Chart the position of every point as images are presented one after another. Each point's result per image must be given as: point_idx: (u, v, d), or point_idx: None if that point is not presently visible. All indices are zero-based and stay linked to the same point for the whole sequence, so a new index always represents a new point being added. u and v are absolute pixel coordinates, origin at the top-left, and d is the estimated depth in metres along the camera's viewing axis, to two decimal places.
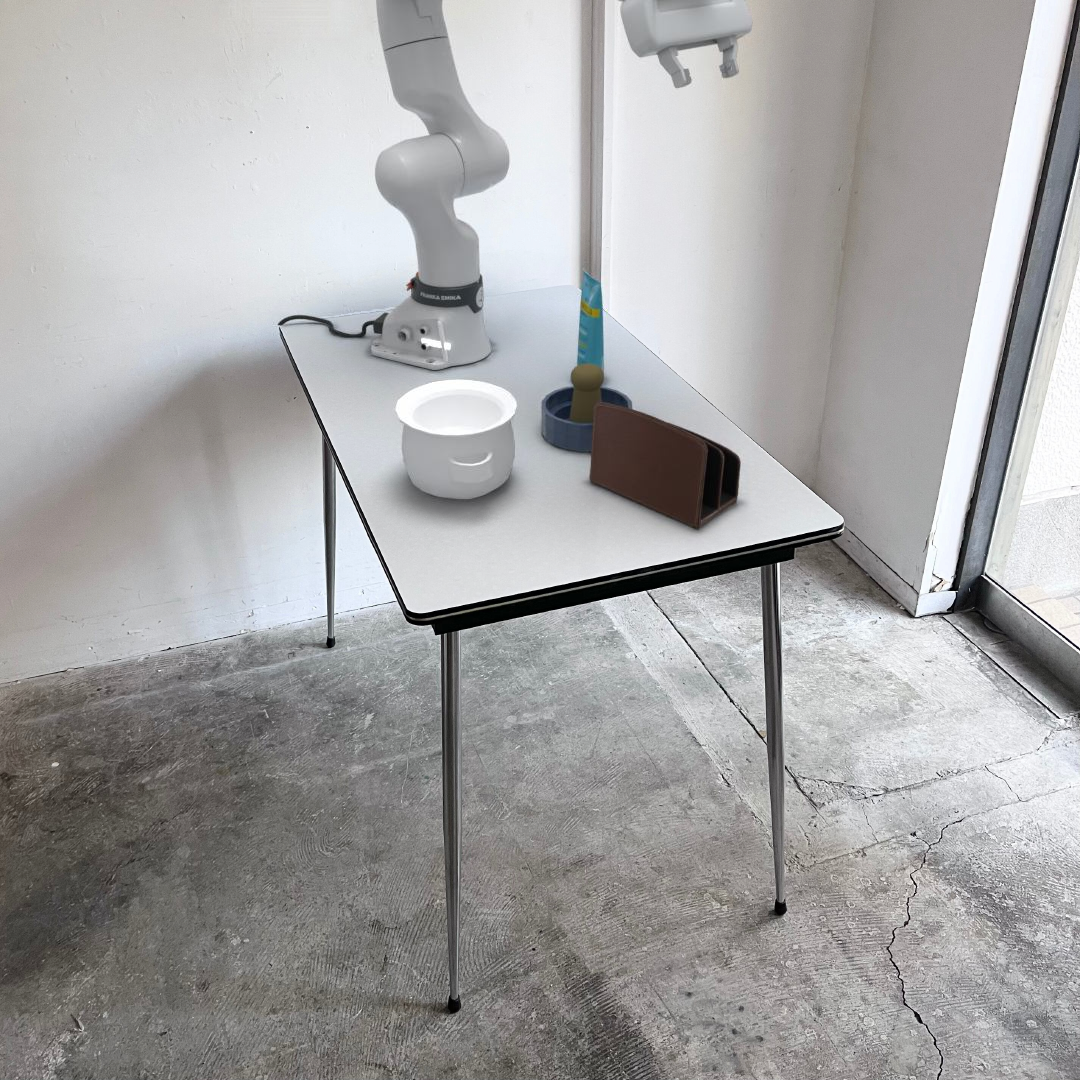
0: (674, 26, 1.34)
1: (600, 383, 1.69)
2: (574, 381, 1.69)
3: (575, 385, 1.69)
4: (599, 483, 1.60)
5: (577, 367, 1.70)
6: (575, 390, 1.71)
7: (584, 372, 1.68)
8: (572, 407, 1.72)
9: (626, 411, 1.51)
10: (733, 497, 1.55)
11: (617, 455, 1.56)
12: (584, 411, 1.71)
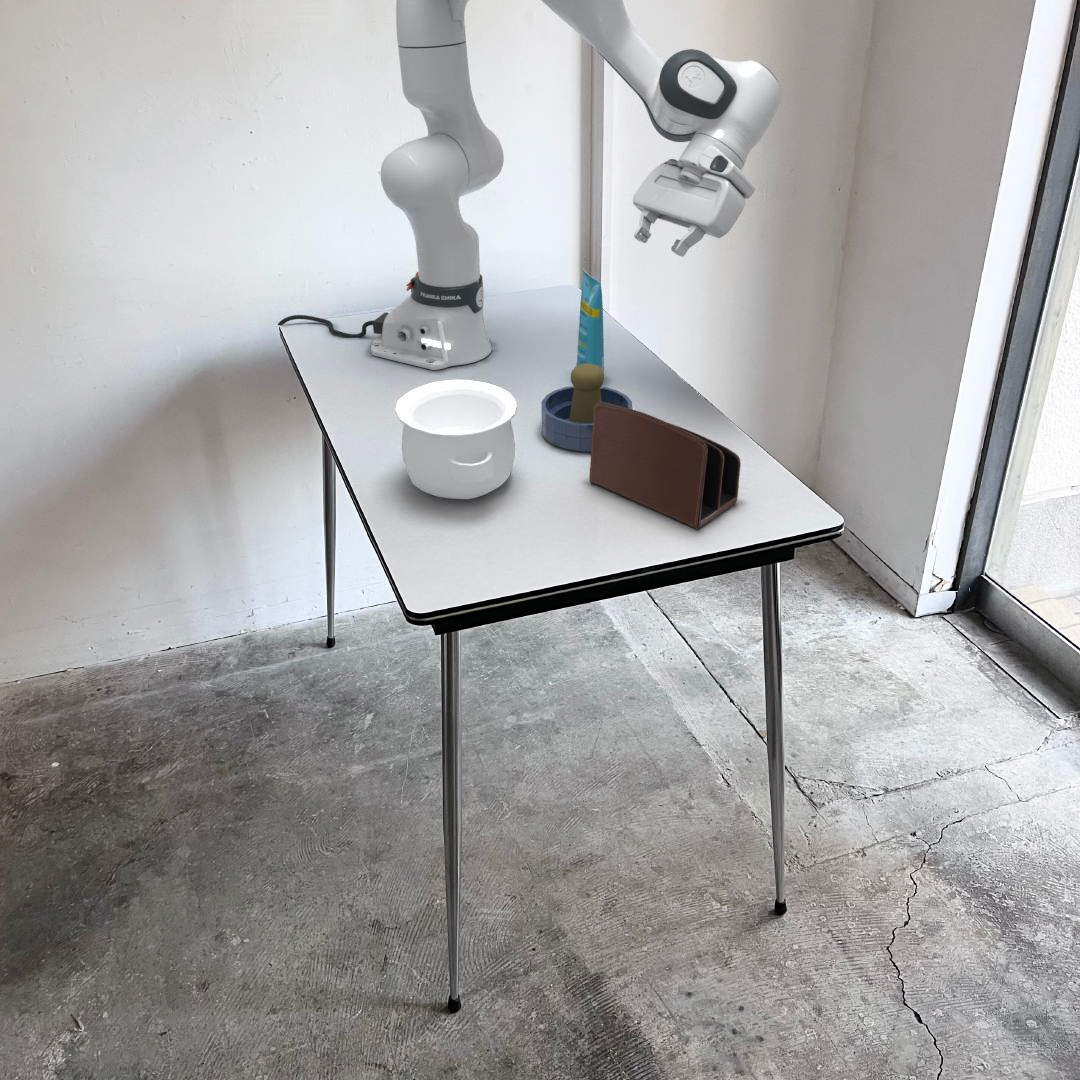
0: None
1: (600, 383, 1.69)
2: (574, 381, 1.69)
3: (575, 385, 1.69)
4: (599, 483, 1.60)
5: (577, 367, 1.70)
6: (575, 390, 1.71)
7: (584, 372, 1.68)
8: (572, 407, 1.72)
9: (626, 411, 1.51)
10: (733, 497, 1.55)
11: (617, 455, 1.56)
12: (584, 411, 1.71)
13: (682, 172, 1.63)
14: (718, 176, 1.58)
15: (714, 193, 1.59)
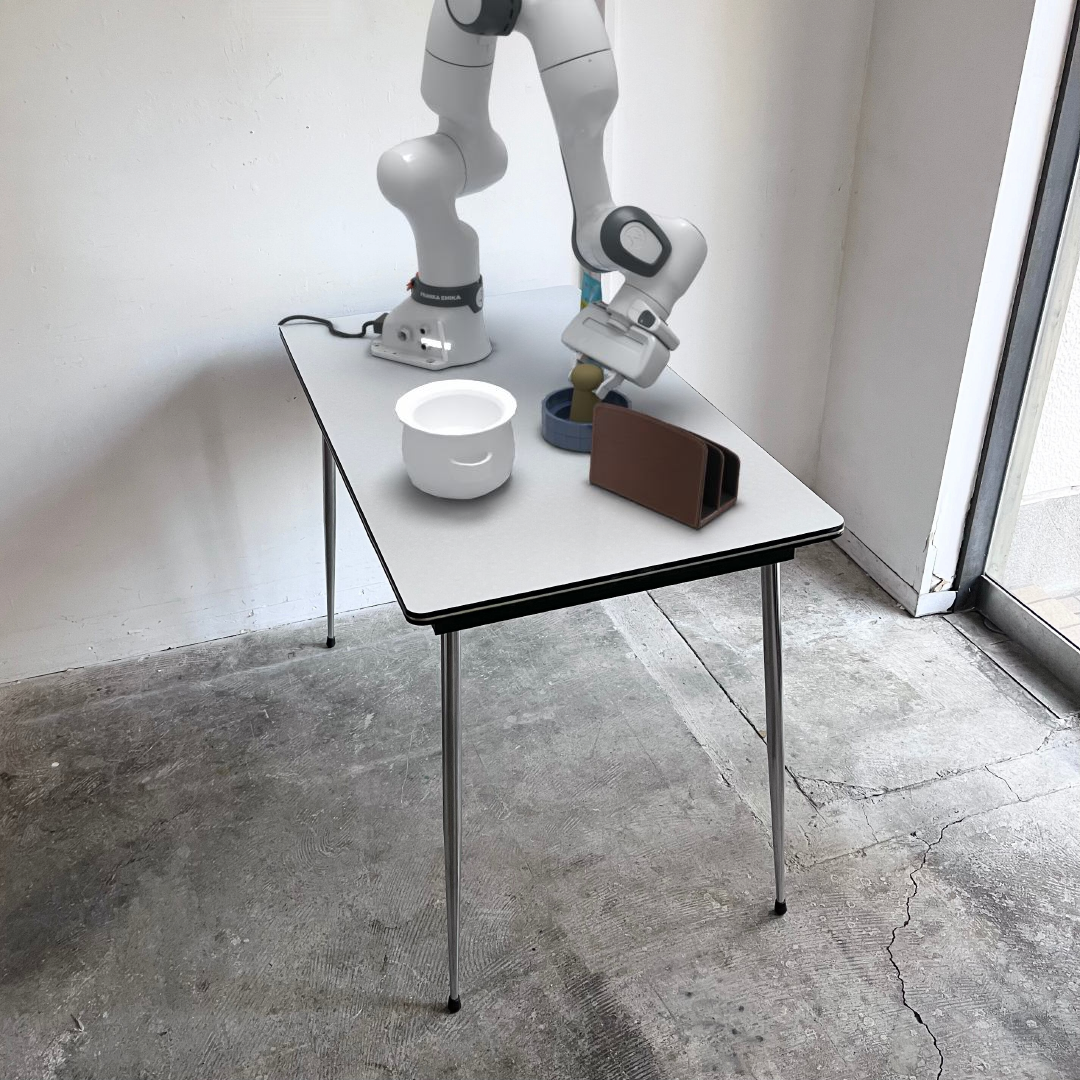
0: None
1: (600, 383, 1.69)
2: (574, 381, 1.69)
3: (575, 385, 1.69)
4: (599, 483, 1.60)
5: (577, 367, 1.70)
6: (575, 390, 1.71)
7: (584, 372, 1.68)
8: (572, 407, 1.72)
9: (626, 412, 1.51)
10: (732, 497, 1.55)
11: (617, 455, 1.56)
12: (584, 411, 1.71)
13: (610, 320, 1.69)
14: (645, 330, 1.64)
15: (641, 345, 1.65)
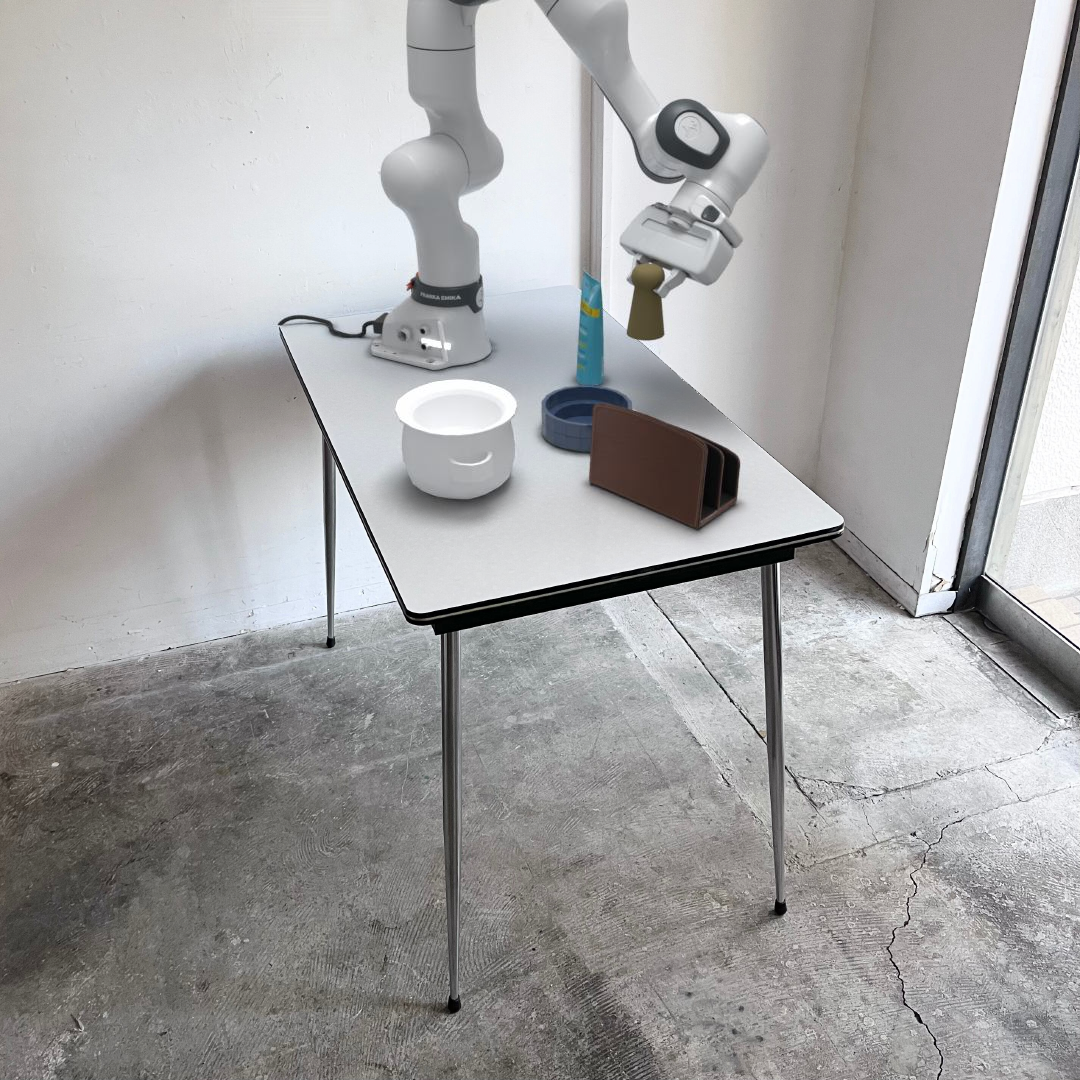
0: None
1: None
2: (635, 280, 1.67)
3: (636, 284, 1.67)
4: (598, 484, 1.60)
5: (638, 266, 1.67)
6: (635, 290, 1.68)
7: (646, 270, 1.66)
8: (632, 308, 1.70)
9: (626, 412, 1.51)
10: (732, 497, 1.55)
11: (617, 456, 1.55)
12: (645, 311, 1.69)
13: (672, 218, 1.67)
14: (709, 226, 1.62)
15: (704, 241, 1.63)
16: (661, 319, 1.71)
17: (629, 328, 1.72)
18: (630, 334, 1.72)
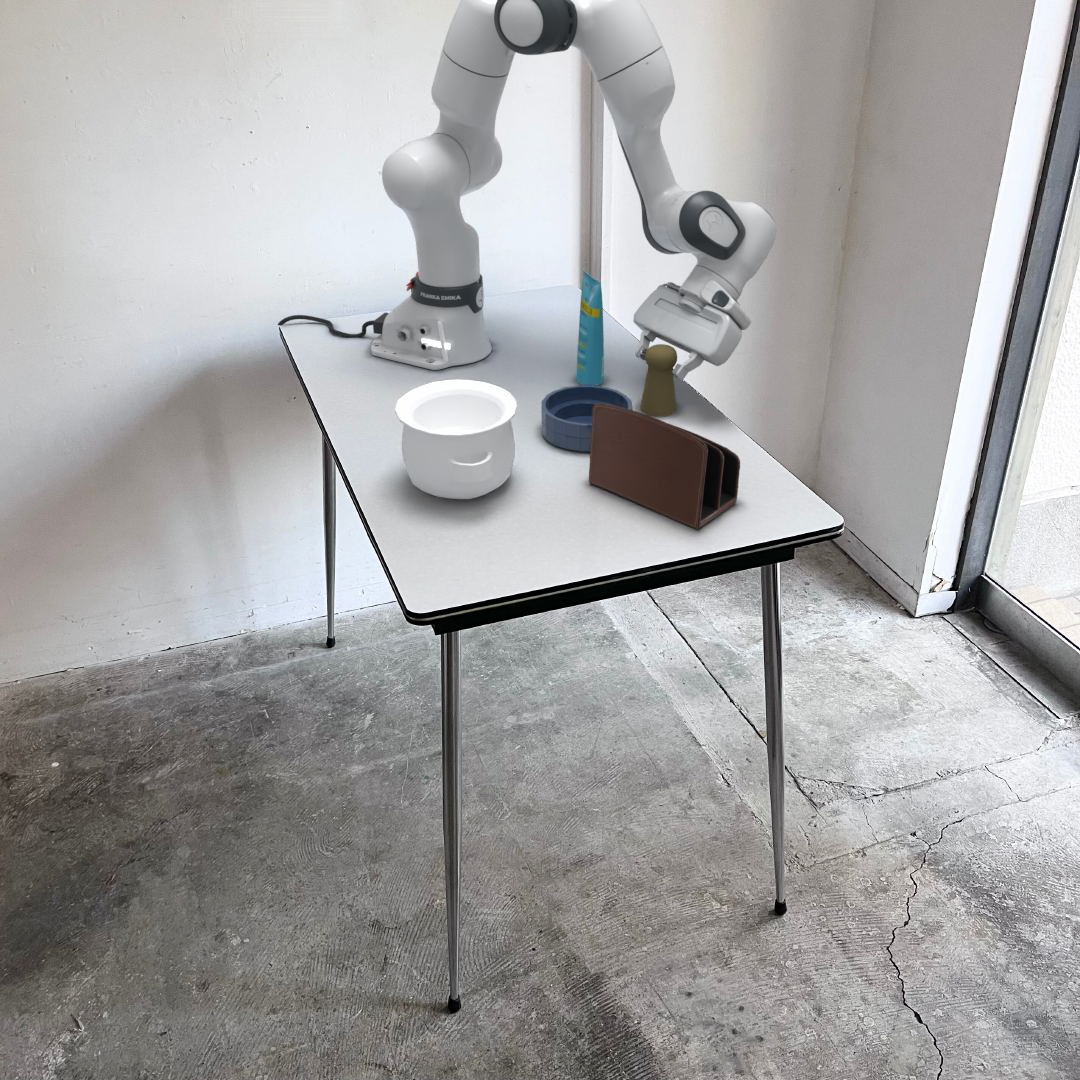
0: None
1: (674, 363, 1.76)
2: (649, 361, 1.76)
3: (650, 365, 1.77)
4: (598, 484, 1.60)
5: (652, 347, 1.77)
6: (649, 370, 1.78)
7: (659, 352, 1.75)
8: (646, 386, 1.80)
9: (626, 412, 1.51)
10: (732, 497, 1.55)
11: (616, 456, 1.55)
12: (658, 390, 1.78)
13: (684, 300, 1.76)
14: (719, 310, 1.71)
15: (714, 324, 1.72)
16: (673, 396, 1.80)
17: (643, 404, 1.81)
18: (644, 410, 1.81)
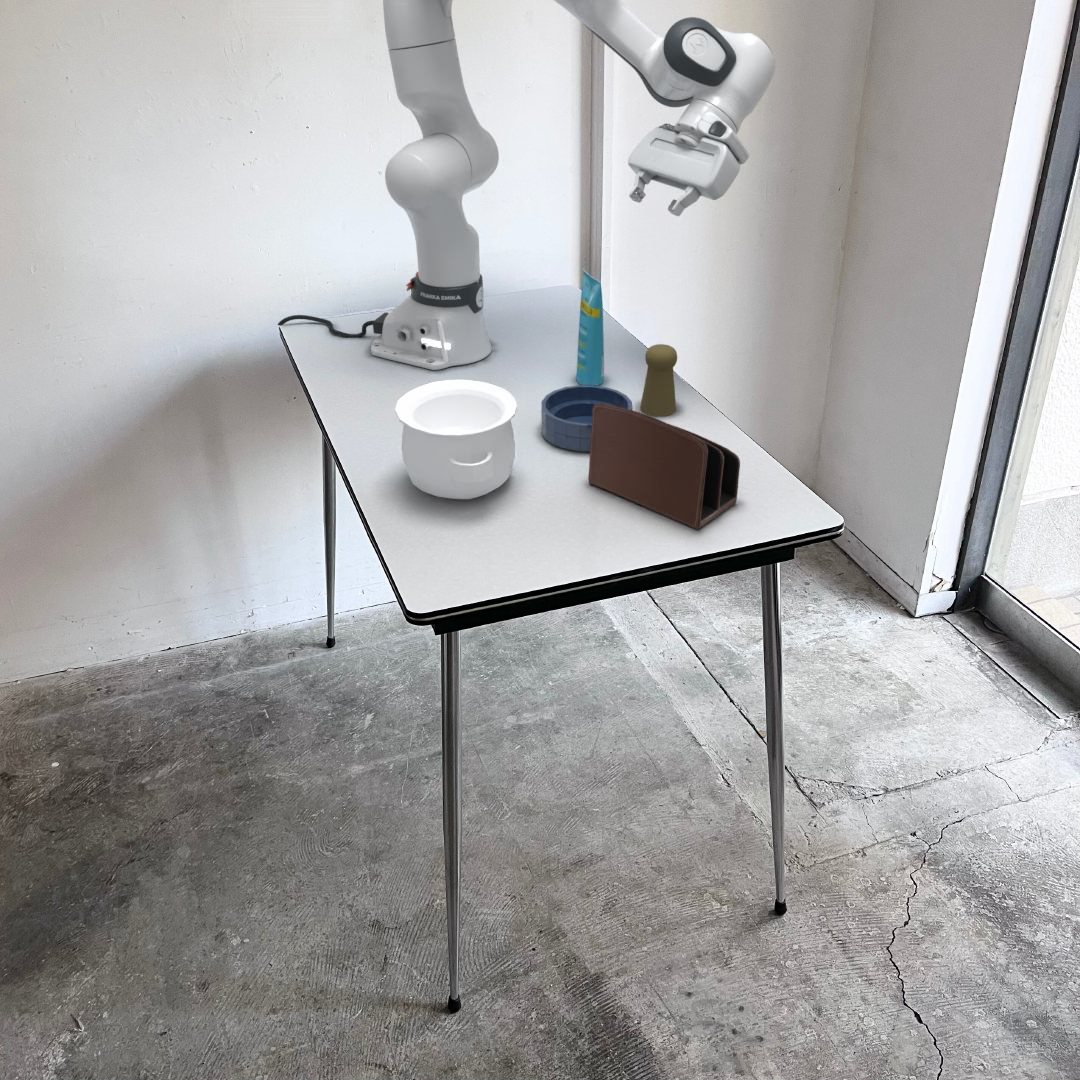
0: None
1: (674, 363, 1.76)
2: (649, 361, 1.76)
3: (650, 365, 1.77)
4: (598, 484, 1.60)
5: (652, 347, 1.77)
6: (649, 370, 1.78)
7: (659, 352, 1.75)
8: (646, 386, 1.80)
9: (625, 412, 1.51)
10: (732, 497, 1.55)
11: (616, 456, 1.55)
12: (658, 390, 1.78)
13: (680, 135, 1.70)
14: (716, 141, 1.66)
15: (711, 156, 1.67)
16: (673, 396, 1.80)
17: (643, 404, 1.81)
18: (644, 410, 1.81)
